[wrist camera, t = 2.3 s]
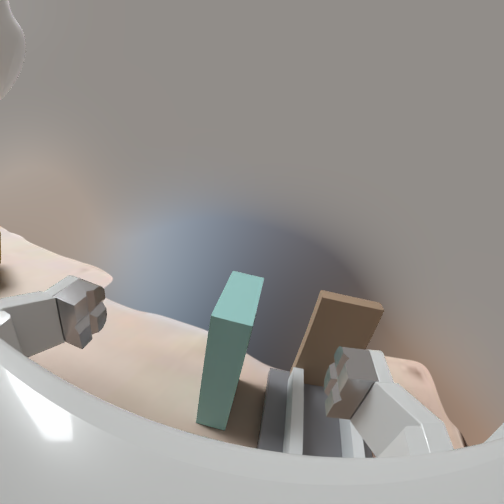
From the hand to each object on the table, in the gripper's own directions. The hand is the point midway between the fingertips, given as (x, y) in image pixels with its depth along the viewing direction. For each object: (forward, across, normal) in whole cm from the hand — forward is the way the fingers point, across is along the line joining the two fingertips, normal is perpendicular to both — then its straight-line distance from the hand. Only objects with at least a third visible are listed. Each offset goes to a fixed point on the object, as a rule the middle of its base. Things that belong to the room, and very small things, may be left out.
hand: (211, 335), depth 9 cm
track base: (+10, -10, +20) cm, 25 cm away
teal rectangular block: (+13, +1, +20) cm, 24 cm away
